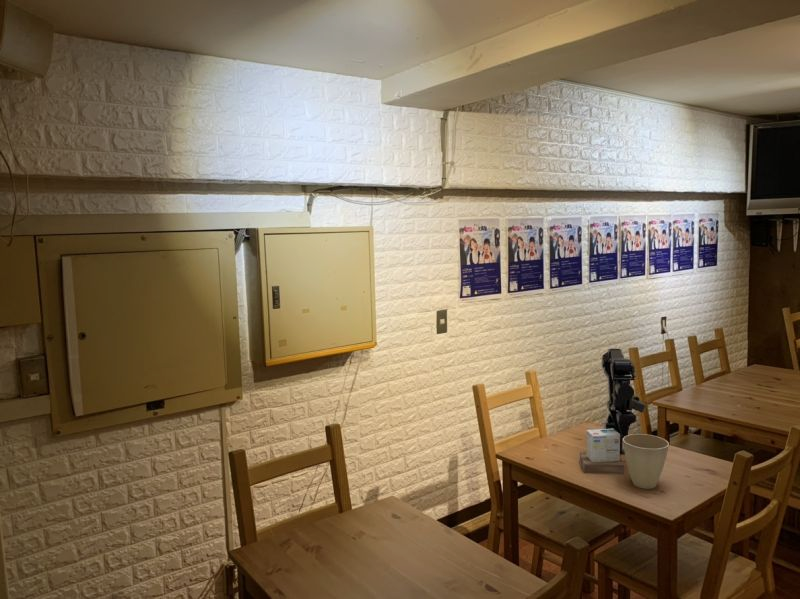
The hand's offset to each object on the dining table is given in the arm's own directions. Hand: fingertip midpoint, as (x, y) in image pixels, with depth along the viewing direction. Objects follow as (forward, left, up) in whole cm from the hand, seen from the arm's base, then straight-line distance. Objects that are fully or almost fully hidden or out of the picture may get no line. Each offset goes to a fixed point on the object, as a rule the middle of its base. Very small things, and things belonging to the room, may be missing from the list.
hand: (620, 432), depth 229 cm
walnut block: (+2, -8, -14) cm, 16 cm away
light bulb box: (+2, -7, -10) cm, 12 cm away
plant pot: (+18, +3, -13) cm, 22 cm away
